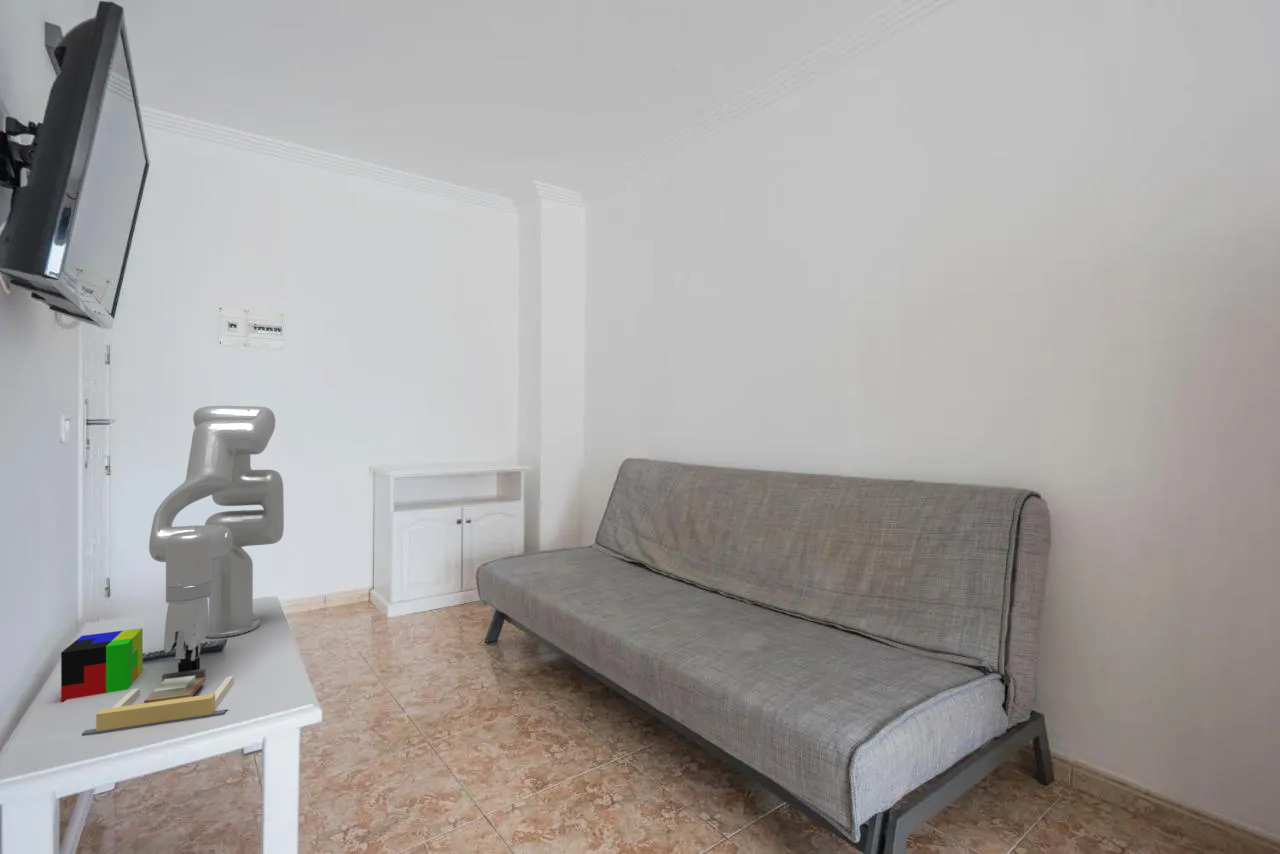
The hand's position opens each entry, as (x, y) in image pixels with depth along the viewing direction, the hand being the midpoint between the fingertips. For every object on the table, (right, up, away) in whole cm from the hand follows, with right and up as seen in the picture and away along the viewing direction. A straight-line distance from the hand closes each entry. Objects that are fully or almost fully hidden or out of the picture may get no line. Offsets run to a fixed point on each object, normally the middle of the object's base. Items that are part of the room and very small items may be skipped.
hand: (189, 678), depth 119 cm
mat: (+1, -2, -3) cm, 3 cm away
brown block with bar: (+2, -1, -6) cm, 7 cm away
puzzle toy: (-18, -2, 0) cm, 18 cm away
